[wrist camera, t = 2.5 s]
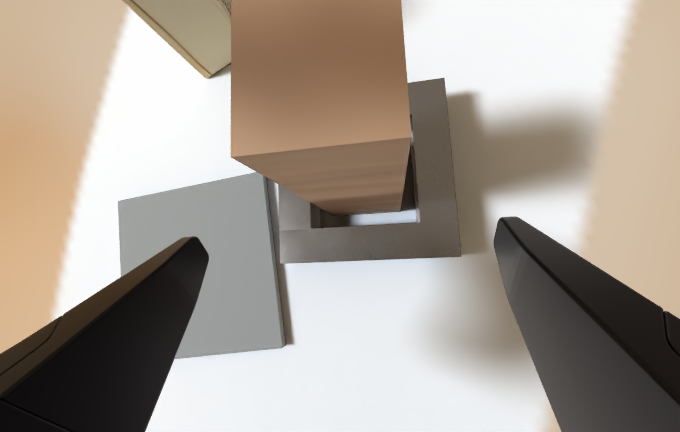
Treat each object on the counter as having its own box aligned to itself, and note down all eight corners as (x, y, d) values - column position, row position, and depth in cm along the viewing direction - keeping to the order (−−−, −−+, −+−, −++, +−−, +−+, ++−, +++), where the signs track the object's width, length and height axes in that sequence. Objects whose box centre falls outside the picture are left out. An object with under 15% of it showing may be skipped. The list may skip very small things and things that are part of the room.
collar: (452, 255, 18) (461, 256, 16) (293, 262, 20) (280, 263, 18) (438, 99, 20) (444, 77, 17) (290, 118, 21) (276, 101, 19)
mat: (285, 344, 20) (282, 347, 19) (131, 360, 21) (124, 363, 21) (265, 173, 21) (262, 171, 21) (124, 202, 23) (118, 201, 23)
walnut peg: (400, 211, 19) (411, 137, 7) (334, 216, 20) (231, 157, 7) (395, 147, 20) (397, -38, 7) (332, 153, 21) (231, -2, 8)
